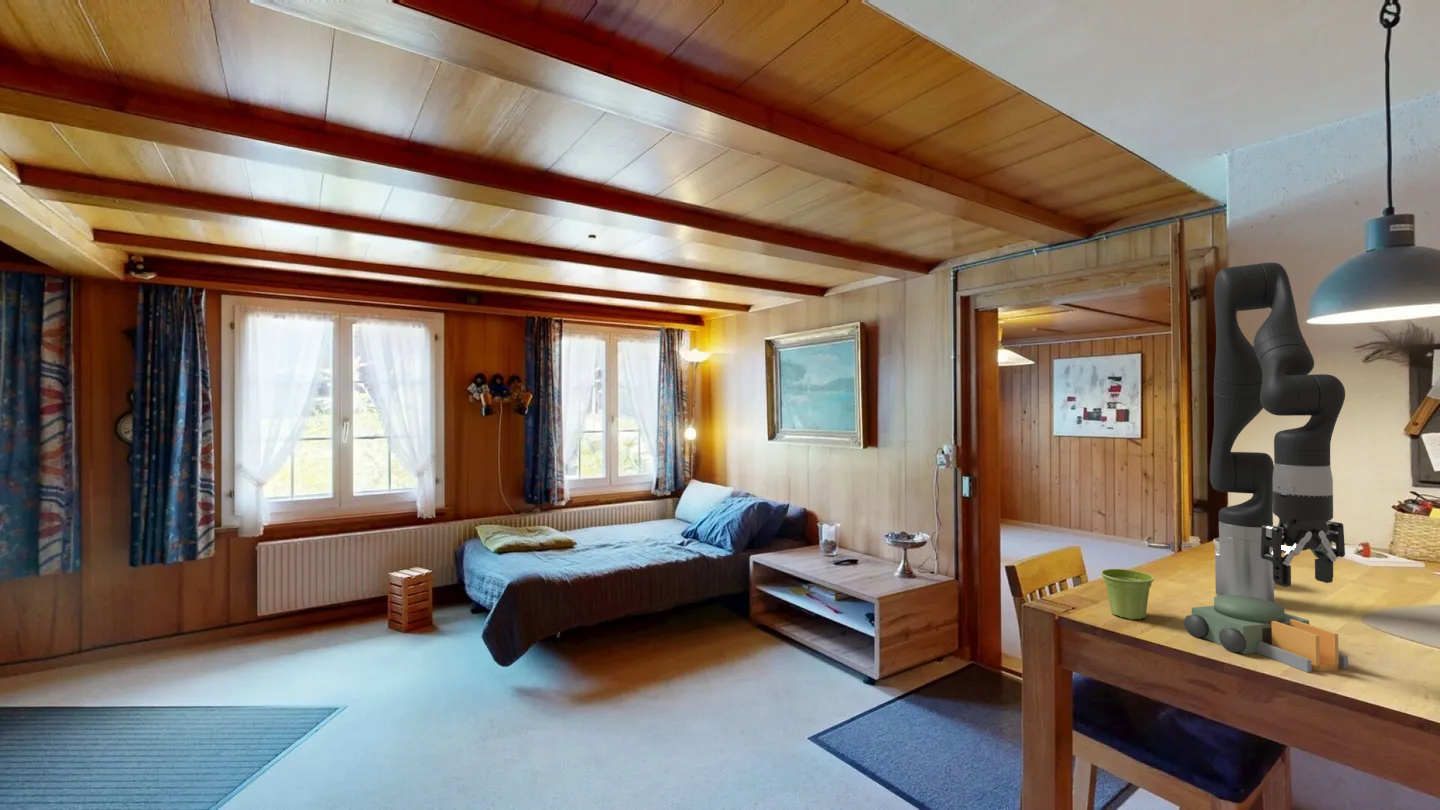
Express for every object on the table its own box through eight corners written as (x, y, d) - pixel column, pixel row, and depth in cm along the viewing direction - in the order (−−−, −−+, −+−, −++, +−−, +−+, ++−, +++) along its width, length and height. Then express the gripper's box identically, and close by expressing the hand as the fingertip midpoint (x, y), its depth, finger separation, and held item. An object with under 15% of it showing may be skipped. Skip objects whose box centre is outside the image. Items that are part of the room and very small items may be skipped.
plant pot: (1107, 620, 125) (1106, 579, 125) (1096, 605, 134) (1096, 566, 134) (1161, 625, 122) (1160, 582, 122) (1146, 610, 131) (1145, 570, 131)
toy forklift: (1184, 632, 118) (1183, 596, 118) (1255, 626, 120) (1255, 591, 120) (1286, 674, 100) (1285, 632, 100) (1368, 666, 102) (1367, 624, 102)
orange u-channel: (1272, 654, 108) (1271, 621, 108) (1293, 652, 108) (1292, 619, 108) (1316, 672, 101) (1315, 636, 101) (1338, 669, 101) (1338, 634, 101)
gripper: (1312, 485, 109) (1313, 574, 109) (1244, 489, 107) (1246, 580, 107) (1362, 491, 102) (1363, 587, 102) (1290, 496, 99) (1292, 593, 100)
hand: (1303, 583), depth 105 cm, fingers open, 8 cm apart
